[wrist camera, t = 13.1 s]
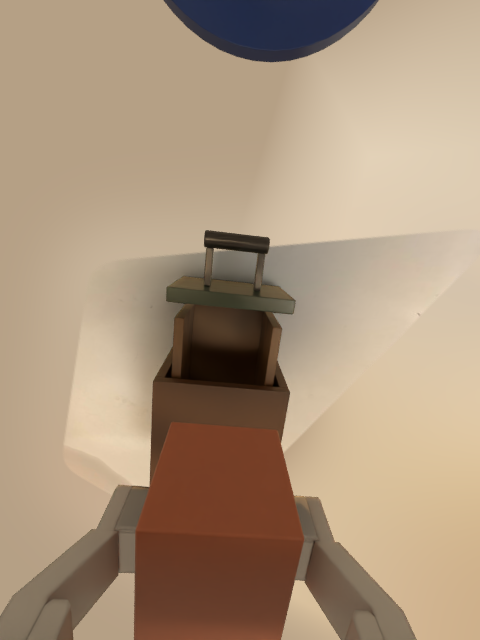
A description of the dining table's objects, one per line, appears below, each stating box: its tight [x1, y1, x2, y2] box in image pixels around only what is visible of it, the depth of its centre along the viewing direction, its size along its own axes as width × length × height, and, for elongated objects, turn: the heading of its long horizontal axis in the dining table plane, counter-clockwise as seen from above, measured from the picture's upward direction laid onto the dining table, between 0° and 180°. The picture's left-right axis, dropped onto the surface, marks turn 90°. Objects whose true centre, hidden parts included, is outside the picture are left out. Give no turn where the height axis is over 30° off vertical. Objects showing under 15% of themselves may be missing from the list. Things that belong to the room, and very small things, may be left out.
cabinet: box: [150, 347, 290, 485], centre depth 29 cm, size 14×12×10 cm
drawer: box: [166, 230, 295, 387], centre depth 27 cm, size 17×10×8 cm, turn 174°
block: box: [134, 422, 304, 640], centre depth 10 cm, size 4×4×4 cm
